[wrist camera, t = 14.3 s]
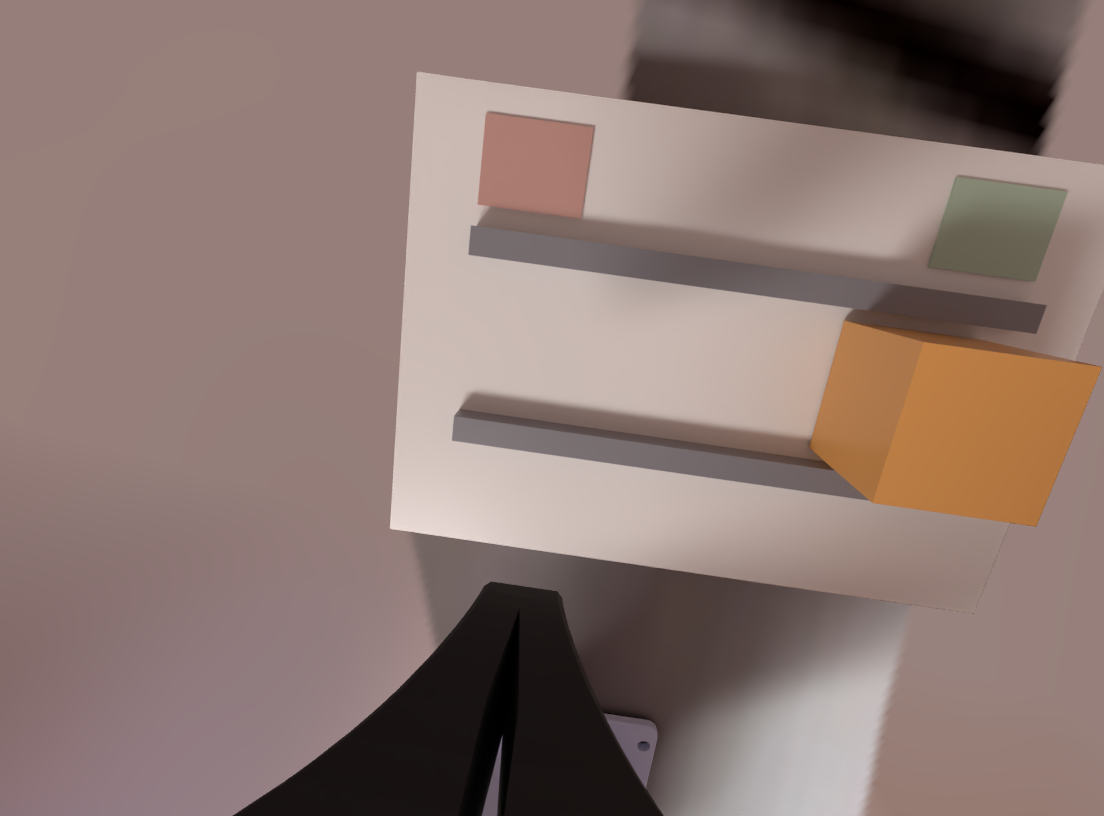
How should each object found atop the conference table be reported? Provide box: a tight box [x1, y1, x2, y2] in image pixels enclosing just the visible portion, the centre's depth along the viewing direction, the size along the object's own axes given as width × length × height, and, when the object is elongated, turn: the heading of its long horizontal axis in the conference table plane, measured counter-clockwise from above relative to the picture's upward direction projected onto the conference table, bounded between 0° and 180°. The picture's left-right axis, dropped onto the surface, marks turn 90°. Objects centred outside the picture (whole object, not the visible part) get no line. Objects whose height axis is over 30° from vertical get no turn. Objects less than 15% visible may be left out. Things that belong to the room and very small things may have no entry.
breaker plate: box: [390, 72, 1104, 614], centre depth 18 cm, size 14×20×3 cm
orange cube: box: [809, 321, 1102, 527], centre depth 15 cm, size 4×4×4 cm
